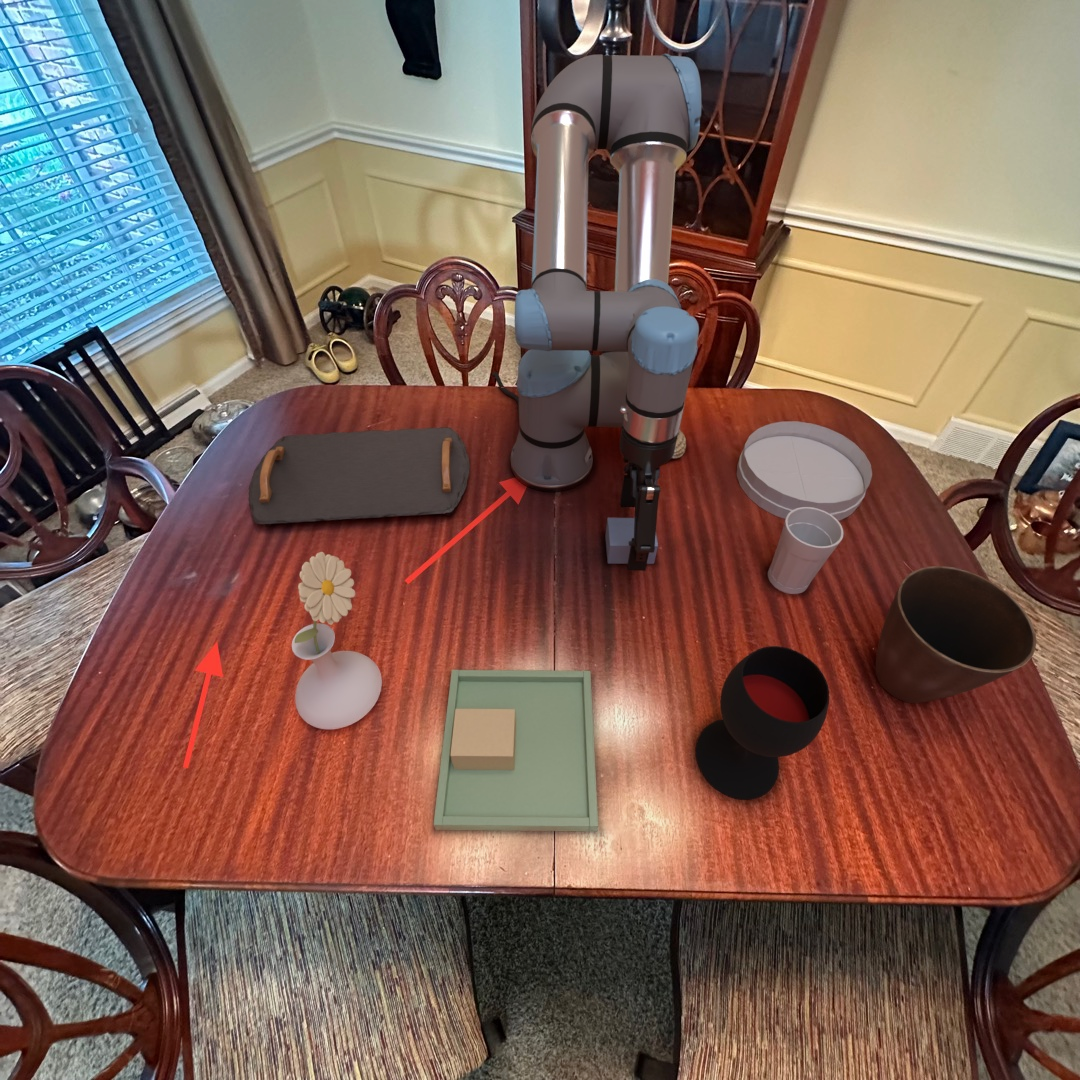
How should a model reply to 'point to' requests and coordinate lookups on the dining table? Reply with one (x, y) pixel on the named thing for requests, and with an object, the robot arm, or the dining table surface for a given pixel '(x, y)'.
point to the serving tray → (359, 476)
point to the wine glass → (762, 721)
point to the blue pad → (622, 541)
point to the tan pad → (484, 739)
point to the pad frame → (524, 755)
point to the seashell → (680, 445)
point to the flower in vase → (333, 678)
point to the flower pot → (950, 635)
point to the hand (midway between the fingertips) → (632, 536)
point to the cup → (803, 548)
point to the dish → (803, 469)
